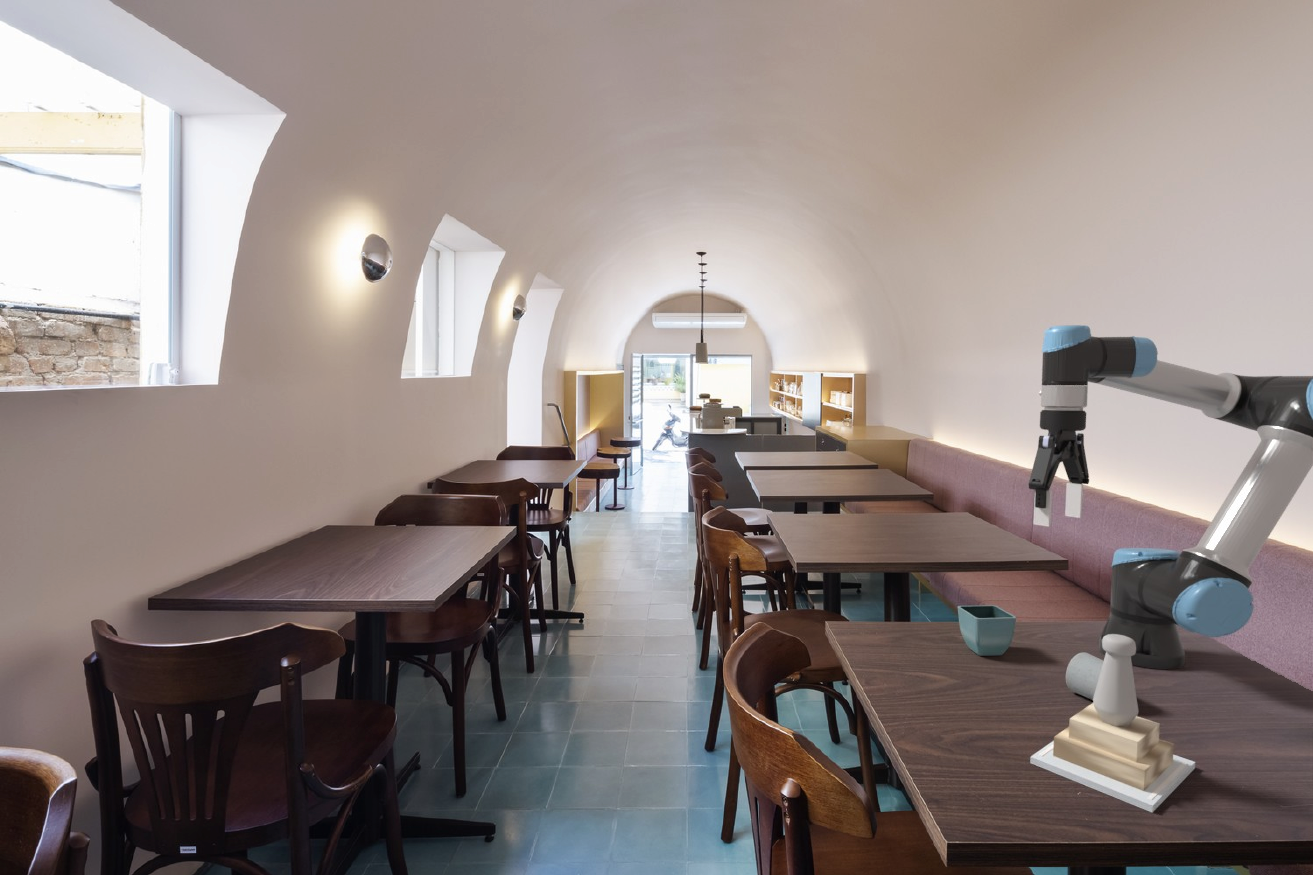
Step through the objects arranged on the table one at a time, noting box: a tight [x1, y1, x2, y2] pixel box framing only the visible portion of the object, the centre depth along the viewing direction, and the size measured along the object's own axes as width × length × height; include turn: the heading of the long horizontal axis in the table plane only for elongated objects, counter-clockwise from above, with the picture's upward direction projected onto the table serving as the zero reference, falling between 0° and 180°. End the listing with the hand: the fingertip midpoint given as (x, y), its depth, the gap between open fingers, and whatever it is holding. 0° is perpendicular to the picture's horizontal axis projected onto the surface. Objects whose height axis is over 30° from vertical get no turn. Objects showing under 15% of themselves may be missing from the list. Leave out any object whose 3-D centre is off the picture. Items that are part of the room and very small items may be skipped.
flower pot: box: [957, 604, 1017, 657], centre depth 153 cm, size 9×9×9 cm
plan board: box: [1029, 740, 1196, 813], centre depth 108 cm, size 18×16×1 cm
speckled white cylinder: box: [1065, 652, 1104, 701], centre depth 131 cm, size 11×8×8 cm
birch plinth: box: [1053, 702, 1175, 791], centre depth 108 cm, size 12×12×6 cm
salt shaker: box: [1092, 634, 1139, 727], centre depth 107 cm, size 6×6×13 cm
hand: (1058, 521), depth 135 cm, fingers open, 13 cm apart
